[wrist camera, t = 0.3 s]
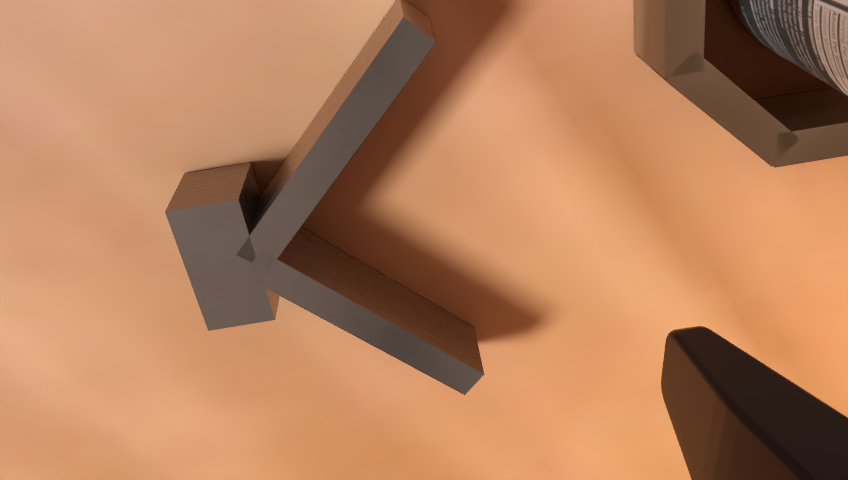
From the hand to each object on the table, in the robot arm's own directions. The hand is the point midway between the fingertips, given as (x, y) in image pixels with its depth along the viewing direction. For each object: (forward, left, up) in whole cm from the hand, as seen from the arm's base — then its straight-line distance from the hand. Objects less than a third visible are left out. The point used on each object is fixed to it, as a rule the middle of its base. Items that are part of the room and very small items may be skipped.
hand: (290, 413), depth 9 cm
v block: (-4, +1, -14) cm, 15 cm away
